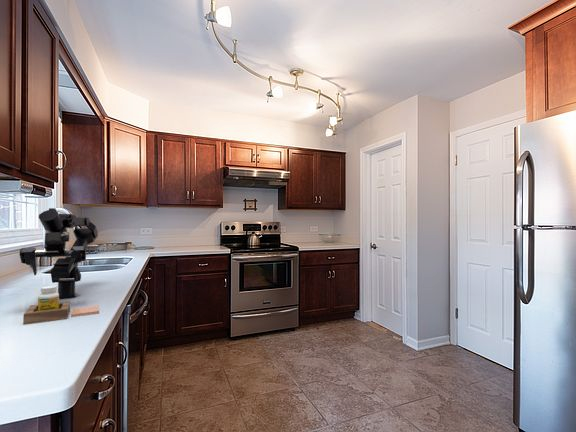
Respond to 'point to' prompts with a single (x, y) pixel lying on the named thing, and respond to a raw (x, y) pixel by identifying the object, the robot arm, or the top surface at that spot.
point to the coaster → (85, 311)
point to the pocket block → (46, 314)
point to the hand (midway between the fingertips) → (52, 273)
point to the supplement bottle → (48, 298)
